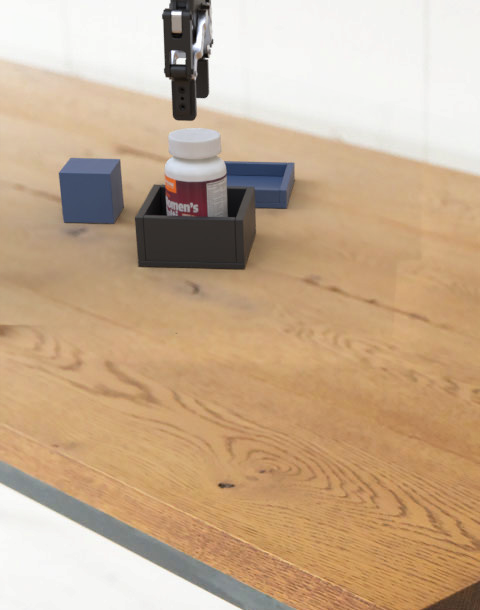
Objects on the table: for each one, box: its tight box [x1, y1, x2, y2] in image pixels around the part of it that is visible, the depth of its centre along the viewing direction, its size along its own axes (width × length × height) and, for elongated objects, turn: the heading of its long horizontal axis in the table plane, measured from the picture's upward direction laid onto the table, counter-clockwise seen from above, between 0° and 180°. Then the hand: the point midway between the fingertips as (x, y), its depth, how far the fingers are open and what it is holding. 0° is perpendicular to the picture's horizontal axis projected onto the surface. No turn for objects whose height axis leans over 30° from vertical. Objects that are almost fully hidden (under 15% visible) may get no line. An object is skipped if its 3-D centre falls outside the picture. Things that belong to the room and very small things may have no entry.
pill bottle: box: [164, 127, 228, 217], centre depth 135 cm, size 6×6×11 cm
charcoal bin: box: [134, 184, 257, 270], centre depth 137 cm, size 11×11×5 cm
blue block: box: [58, 157, 125, 225], centre depth 146 cm, size 6×6×6 cm
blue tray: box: [223, 160, 296, 209], centre depth 154 cm, size 14×11×2 cm
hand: (191, 108), depth 131 cm, fingers open, 8 cm apart
